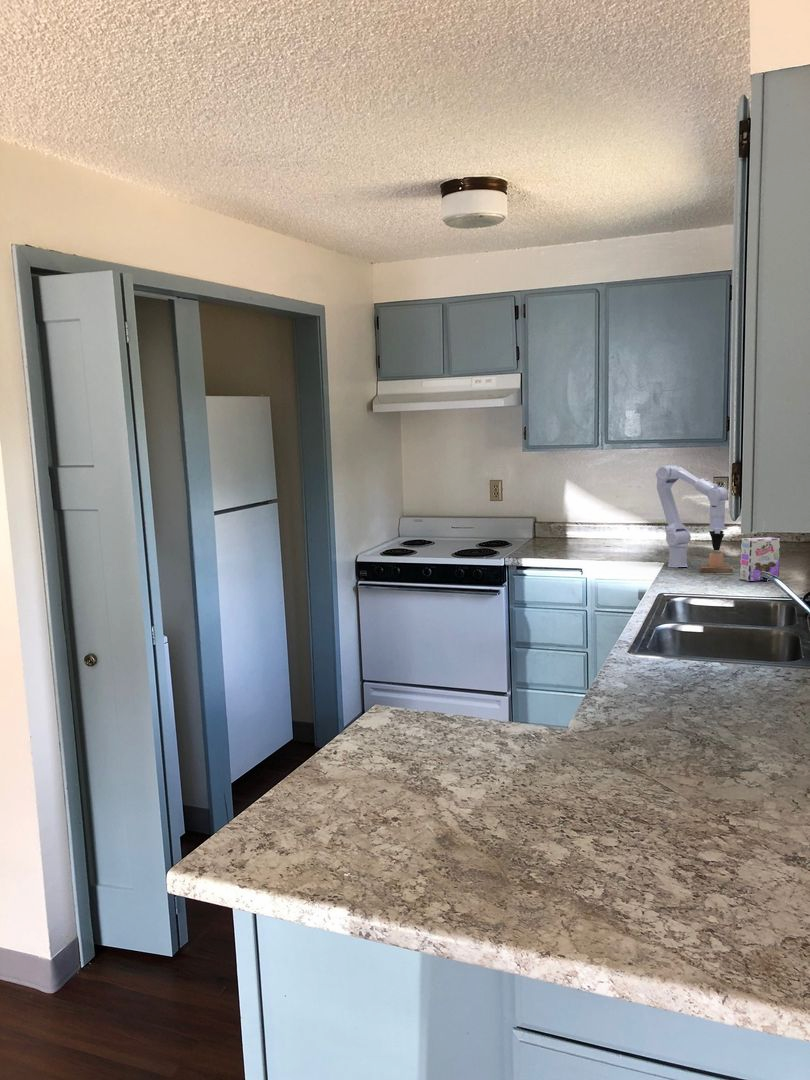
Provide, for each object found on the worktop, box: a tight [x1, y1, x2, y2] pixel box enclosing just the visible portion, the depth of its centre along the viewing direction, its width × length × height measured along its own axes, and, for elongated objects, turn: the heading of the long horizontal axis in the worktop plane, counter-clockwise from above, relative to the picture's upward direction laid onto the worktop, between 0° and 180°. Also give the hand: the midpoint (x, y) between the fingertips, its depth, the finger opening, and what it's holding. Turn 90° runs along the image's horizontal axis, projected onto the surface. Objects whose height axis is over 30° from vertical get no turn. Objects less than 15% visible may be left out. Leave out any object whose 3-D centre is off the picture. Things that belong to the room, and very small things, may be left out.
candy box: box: [739, 536, 781, 582], centre depth 323 cm, size 14×6×16 cm, turn 105°
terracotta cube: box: [708, 552, 724, 567], centre depth 345 cm, size 5×5×5 cm
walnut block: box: [699, 563, 733, 574], centre depth 345 cm, size 12×12×3 cm
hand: (716, 549), depth 345 cm, fingers open, 7 cm apart
